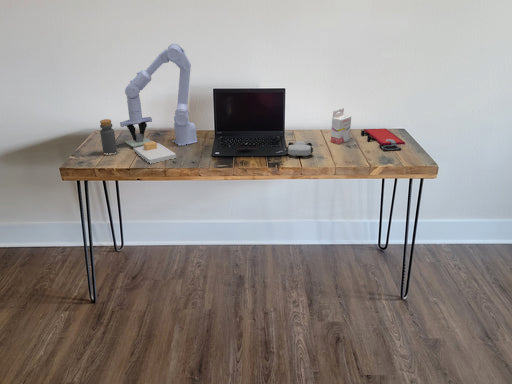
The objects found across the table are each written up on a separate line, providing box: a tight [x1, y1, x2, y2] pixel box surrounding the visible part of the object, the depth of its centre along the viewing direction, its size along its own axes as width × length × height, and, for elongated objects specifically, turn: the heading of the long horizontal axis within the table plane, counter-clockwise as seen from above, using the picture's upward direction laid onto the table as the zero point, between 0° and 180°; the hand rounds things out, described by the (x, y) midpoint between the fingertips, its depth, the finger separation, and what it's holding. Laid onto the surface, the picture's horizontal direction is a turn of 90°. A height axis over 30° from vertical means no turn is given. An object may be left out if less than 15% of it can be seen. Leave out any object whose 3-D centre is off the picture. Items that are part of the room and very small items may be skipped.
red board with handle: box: [360, 128, 406, 151], centre depth 227 cm, size 30×3×15 cm
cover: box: [124, 132, 154, 148], centre depth 224 cm, size 10×10×4 cm
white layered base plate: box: [132, 142, 177, 165], centre depth 212 cm, size 18×12×2 cm, turn 34°
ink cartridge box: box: [330, 107, 352, 145], centre depth 224 cm, size 9×5×15 cm, turn 135°
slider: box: [143, 140, 158, 150], centre depth 214 cm, size 3×5×2 cm, turn 125°
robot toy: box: [284, 140, 315, 157], centre depth 212 cm, size 12×4×15 cm
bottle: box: [99, 118, 118, 154], centre depth 212 cm, size 6×6×15 cm
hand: (138, 139), depth 225 cm, fingers closed on cover, 3 cm apart
